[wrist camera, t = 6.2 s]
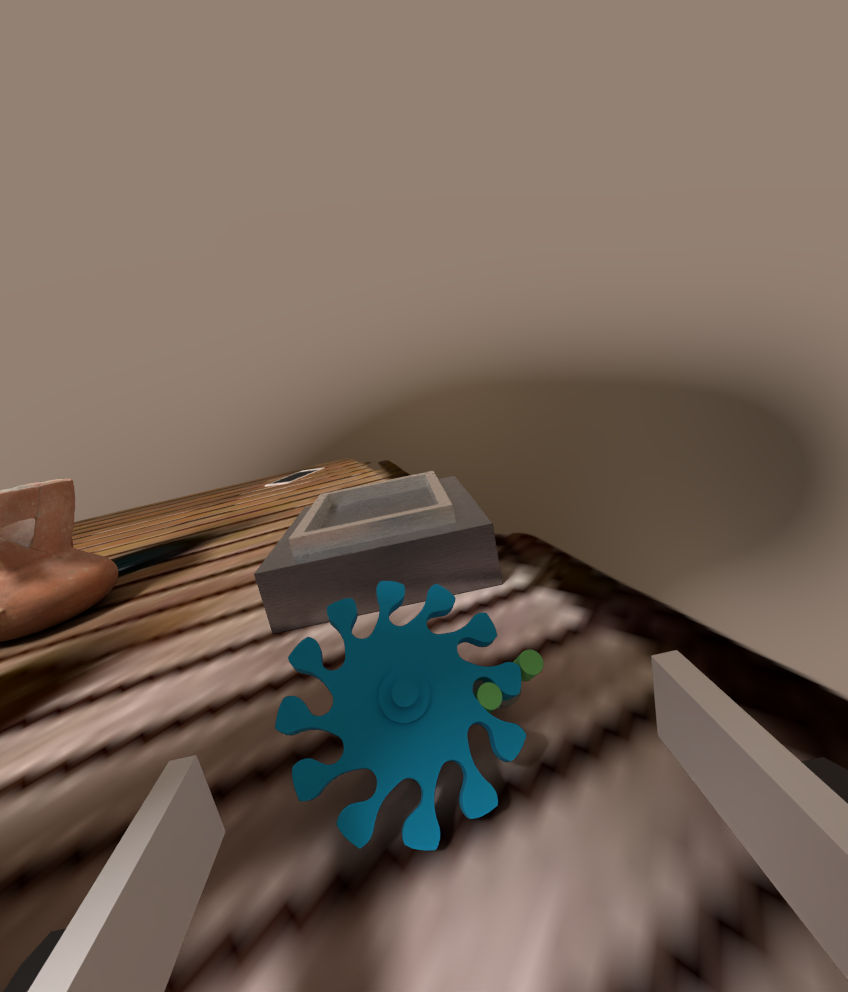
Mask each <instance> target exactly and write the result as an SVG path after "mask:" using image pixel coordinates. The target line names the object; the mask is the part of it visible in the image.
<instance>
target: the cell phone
mask: <svg viewBox="0 0 848 992" xmlns="http://www.w3.org/2000/svg"><path fill="white" fill-rule="evenodd" d="M323 469H325V468H318V469H311V470H304V471H300V472H298V473H295V474H293V475H290V476H288V477H285V478H283V479H280V480H278V481H275V482H272V483H270V484H267V485H265V486H264V487H266V486H274V485H282V484H289V483H291V482H294V481H296V480H299V479H301V478H303V477H306V476H308V475H311V474H313V473H315V472H318V471H320V470H323Z"/></svg>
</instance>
